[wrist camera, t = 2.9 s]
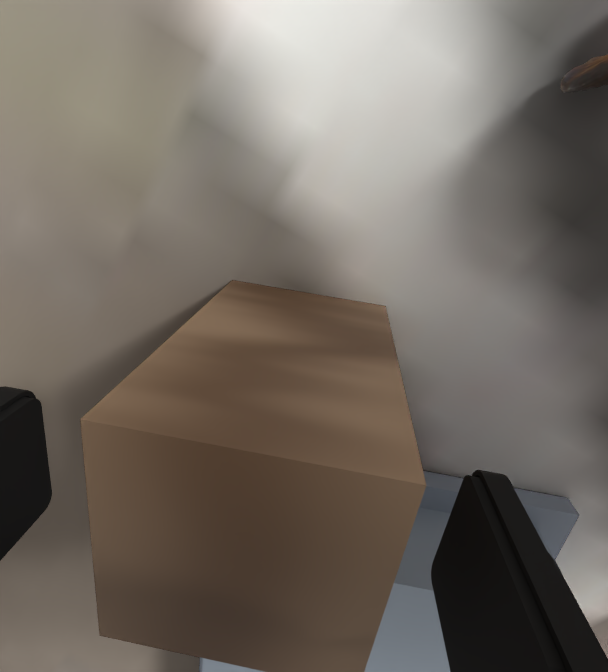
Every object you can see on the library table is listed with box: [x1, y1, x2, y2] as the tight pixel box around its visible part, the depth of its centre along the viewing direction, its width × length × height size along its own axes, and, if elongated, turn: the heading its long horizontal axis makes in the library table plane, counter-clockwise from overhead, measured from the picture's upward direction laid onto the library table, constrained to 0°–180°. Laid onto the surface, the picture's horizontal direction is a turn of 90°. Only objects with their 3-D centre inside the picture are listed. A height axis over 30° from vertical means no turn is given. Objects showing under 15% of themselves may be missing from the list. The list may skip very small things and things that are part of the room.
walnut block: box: [80, 280, 426, 672], centre depth 10 cm, size 5×5×8 cm
